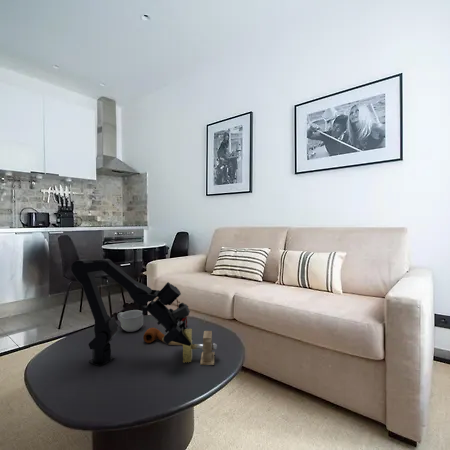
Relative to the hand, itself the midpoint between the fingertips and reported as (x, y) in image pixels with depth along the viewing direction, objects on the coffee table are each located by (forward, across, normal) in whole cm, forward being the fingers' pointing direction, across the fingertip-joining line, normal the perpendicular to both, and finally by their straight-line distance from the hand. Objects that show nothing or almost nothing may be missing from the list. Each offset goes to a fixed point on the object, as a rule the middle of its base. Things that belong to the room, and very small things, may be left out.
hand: (191, 342), depth 105 cm
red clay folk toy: (-2, +34, +11) cm, 36 cm away
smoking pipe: (-5, +17, +15) cm, 23 cm away
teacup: (-19, +32, +29) cm, 47 cm away
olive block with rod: (+7, 0, +2) cm, 7 cm away
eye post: (+9, 0, 0) cm, 9 cm away
